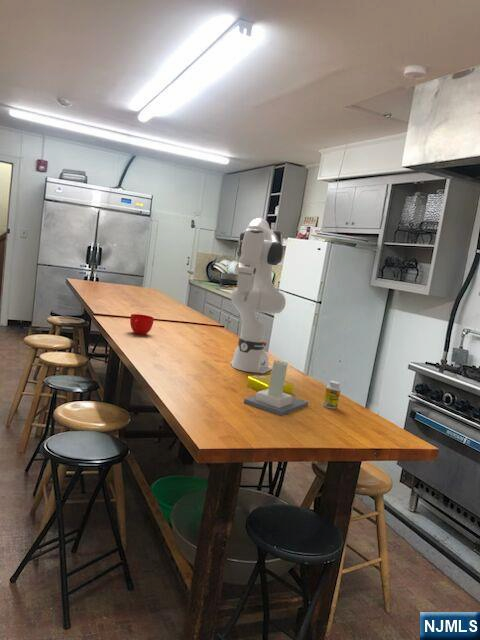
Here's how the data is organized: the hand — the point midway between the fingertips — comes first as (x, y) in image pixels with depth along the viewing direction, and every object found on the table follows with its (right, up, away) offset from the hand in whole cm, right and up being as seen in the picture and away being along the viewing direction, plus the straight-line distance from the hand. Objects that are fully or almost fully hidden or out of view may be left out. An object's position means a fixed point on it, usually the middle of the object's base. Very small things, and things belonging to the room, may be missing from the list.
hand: (243, 302), depth 204 cm
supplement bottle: (+34, -42, -7) cm, 55 cm away
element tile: (+11, -37, +4) cm, 39 cm away
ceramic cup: (-58, -16, +75) cm, 97 cm away
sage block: (+12, -35, -20) cm, 42 cm away
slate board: (+13, -39, -16) cm, 44 cm away
